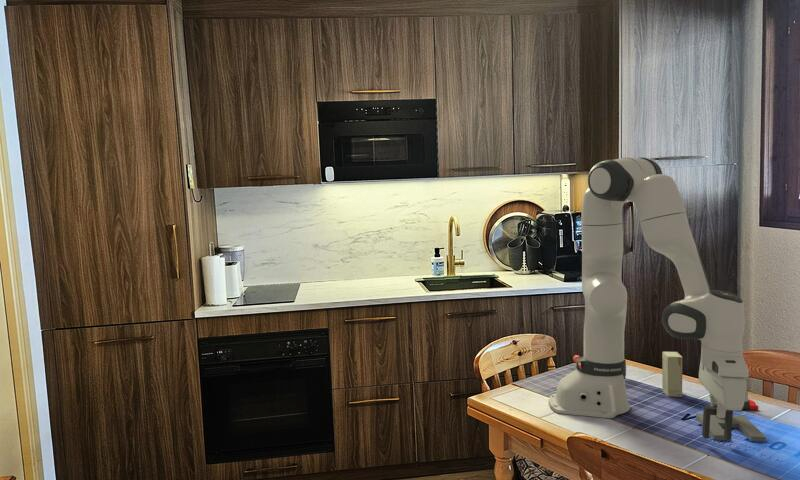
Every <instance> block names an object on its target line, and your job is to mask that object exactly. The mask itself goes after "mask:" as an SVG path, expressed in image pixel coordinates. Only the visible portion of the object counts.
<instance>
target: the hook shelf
mask: <svg viewBox="0 0 800 480" xmlns="http://www.w3.org/2000/svg"><path fill="white" fill-rule="evenodd" d="M695 419H696V420H697V421H698V423H699V424H700V425H701V426H702V427H703V413H695ZM724 428H725V418H718V417H717V416H716V415H710V429H709V436H710V437H711V438H712V439H713V440H715V441H727V440H726V439H725V437H724ZM732 429H738V430H739V431H740V432H741V433H742V434H743V435H744V436H745V437H746V436H747V437H748V438H747V437H746V438H747V439H749V441H751V442H764V441H766V442H767V436H766V435H765V434H764V433H763V432H762V430H760V429H759V428H758V427H756V426H755V424H753V422H751V421H750V419H748V418H747V417H746V416H745V415H744V414H733V418H732Z"/></svg>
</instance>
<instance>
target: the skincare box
mask: <svg viewBox="0 0 800 480" xmlns="http://www.w3.org/2000/svg"><path fill="white" fill-rule="evenodd" d="M661 355H662V358H661V359H662V360H661V361H662V362H661V363H662V370H661V371H662V377H661V378H662V383H661V384H662V387H661V389H662V392H663V393H664V394H665V395H666V396H667V397H681V398H682V397H683V356H682V355H681V354H680V353H679V352H678V351H662V354H661Z"/></svg>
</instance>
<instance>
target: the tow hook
mask: <svg viewBox="0 0 800 480" xmlns="http://www.w3.org/2000/svg"><path fill="white" fill-rule="evenodd" d="M745 380H746V392H745V400H744V406H743V408H742V410H741V411H758V410H759V405H757V404H756V402H755V401H754V400H752V399H750V398H749V392H748V378H745Z"/></svg>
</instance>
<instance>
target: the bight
mask: <svg viewBox="0 0 800 480" xmlns="http://www.w3.org/2000/svg"><path fill="white" fill-rule="evenodd" d="M716 408H717V407H715V406H711V405H703V411H702V412H703V413H702V414H703V426H702V431H701V432H702V433H701V435H702V437H703V439H707V440H709V439H710V434H709V429H710V415H716V414H715V410H716ZM733 415H734V411H733V410H726V413H725V428H724V427H723V429H724V437H725V439H726V440H725V441H732V431H733V430H732V429H733V428H732V418H733Z"/></svg>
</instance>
